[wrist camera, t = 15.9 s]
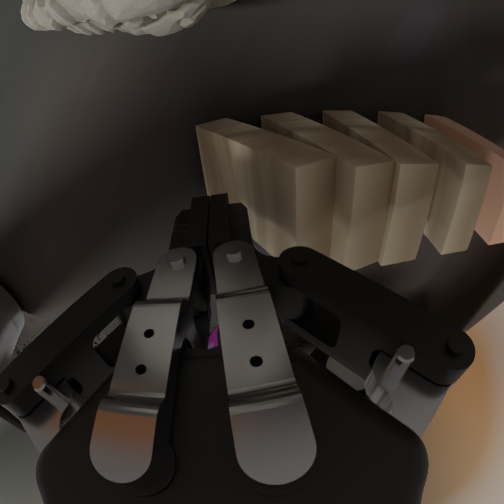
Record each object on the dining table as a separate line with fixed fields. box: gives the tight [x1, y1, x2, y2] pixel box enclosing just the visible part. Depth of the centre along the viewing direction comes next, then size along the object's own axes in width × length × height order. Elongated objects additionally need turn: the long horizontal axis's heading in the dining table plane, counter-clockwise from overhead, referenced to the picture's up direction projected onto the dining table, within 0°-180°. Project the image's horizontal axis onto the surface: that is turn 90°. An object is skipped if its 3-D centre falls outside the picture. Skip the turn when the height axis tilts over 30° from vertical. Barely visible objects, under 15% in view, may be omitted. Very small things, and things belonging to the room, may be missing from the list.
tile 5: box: [424, 114, 504, 245], centre depth 15 cm, size 2×5×9 cm, turn 5°
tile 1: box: [195, 118, 337, 258], centre depth 15 cm, size 2×5×9 cm, turn 5°
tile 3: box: [322, 110, 439, 266], centre depth 15 cm, size 2×5×9 cm, turn 5°
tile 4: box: [377, 111, 493, 255], centre depth 15 cm, size 2×5×9 cm, turn 5°
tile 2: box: [261, 112, 396, 270], centre depth 15 cm, size 2×5×9 cm, turn 5°
